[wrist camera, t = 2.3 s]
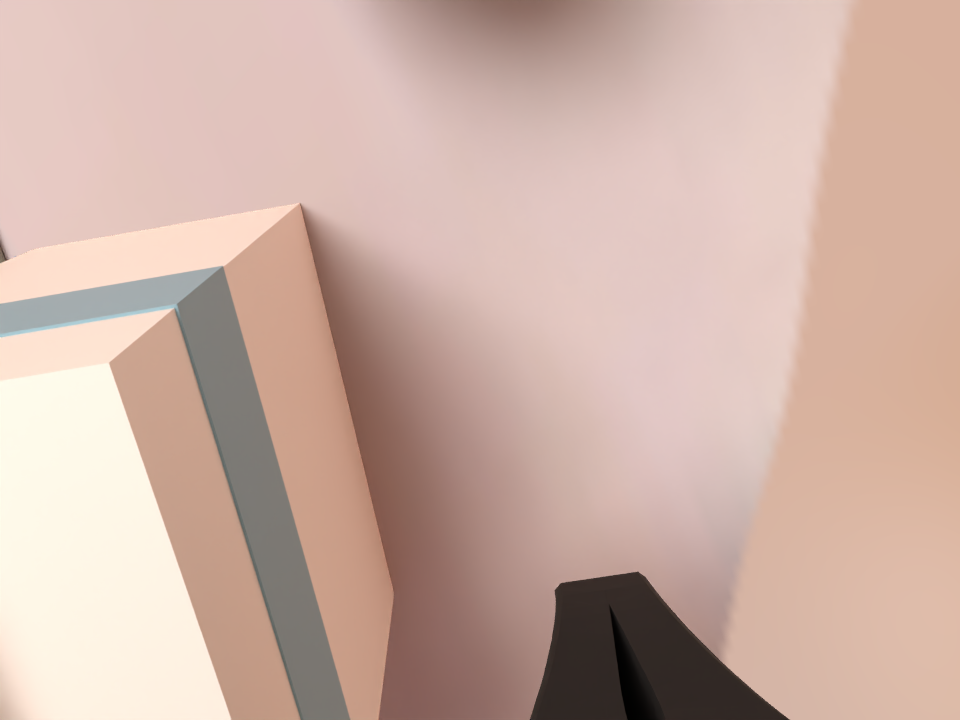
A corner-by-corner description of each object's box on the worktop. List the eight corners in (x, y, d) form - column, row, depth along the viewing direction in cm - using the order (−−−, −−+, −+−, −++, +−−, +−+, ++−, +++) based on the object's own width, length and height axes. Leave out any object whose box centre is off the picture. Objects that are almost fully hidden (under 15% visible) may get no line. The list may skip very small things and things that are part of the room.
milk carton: (396, 594, 25) (332, 1122, 12) (169, 629, 25) (-117, 1183, 13) (301, 200, 21) (63, 397, 8) (32, 247, 21) (-593, 506, 9)
